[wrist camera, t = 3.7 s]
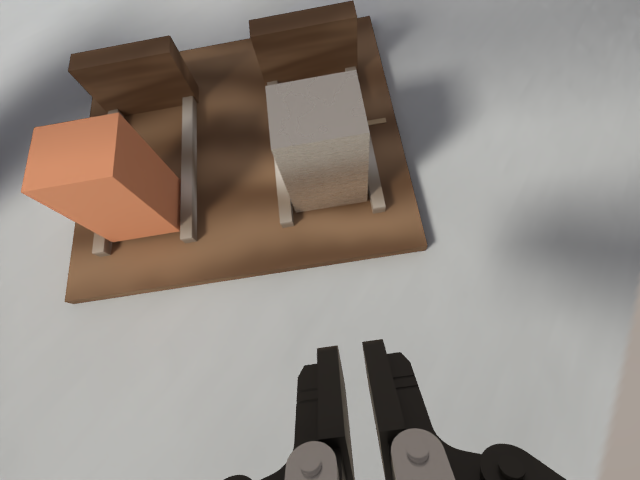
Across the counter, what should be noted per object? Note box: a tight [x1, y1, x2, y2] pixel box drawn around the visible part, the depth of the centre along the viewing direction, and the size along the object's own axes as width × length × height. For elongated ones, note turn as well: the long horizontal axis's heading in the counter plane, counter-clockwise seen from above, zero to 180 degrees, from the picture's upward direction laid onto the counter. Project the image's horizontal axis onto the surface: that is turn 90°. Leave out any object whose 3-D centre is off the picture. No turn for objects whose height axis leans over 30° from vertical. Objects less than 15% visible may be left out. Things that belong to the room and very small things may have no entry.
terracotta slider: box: [21, 112, 181, 242], centre depth 28 cm, size 5×6×9 cm
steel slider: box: [265, 70, 370, 213], centre depth 27 cm, size 5×6×9 cm
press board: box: [65, 1, 428, 304], centre depth 32 cm, size 26×30×7 cm
